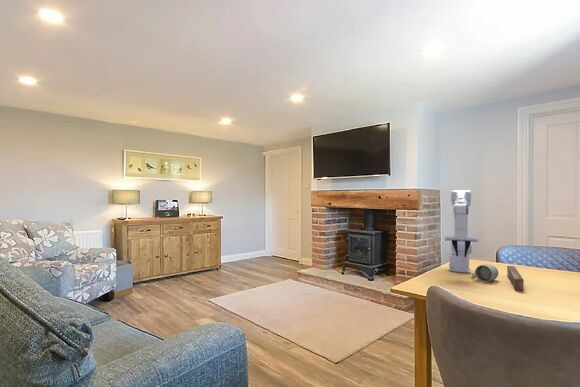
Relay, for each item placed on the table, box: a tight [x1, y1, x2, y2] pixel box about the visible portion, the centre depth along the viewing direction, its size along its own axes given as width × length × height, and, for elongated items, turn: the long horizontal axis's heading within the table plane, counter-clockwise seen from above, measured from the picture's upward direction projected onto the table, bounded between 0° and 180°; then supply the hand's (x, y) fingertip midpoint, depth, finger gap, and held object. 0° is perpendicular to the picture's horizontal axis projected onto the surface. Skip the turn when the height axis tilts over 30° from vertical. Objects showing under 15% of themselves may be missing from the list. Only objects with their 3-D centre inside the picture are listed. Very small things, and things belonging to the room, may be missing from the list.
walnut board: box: [506, 265, 525, 292], centre depth 147 cm, size 3×26×5 cm, turn 152°
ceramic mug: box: [470, 263, 499, 283], centre depth 154 cm, size 11×8×8 cm
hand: (461, 256), depth 157 cm, fingers open, 3 cm apart
